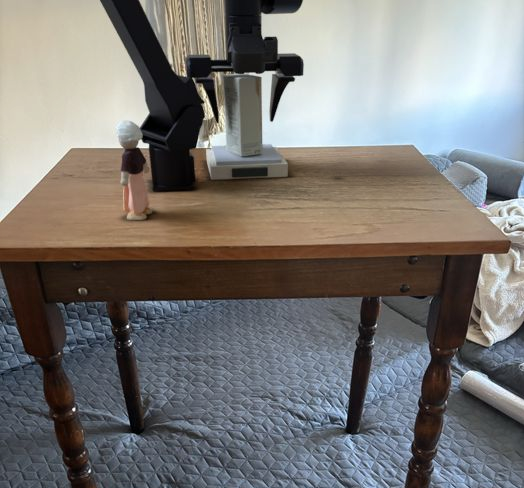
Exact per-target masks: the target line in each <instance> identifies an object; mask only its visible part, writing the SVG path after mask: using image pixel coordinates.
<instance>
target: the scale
mask: <svg viewBox="0 0 524 488" xmlns="http://www.w3.org/2000/svg"><path fill="white" fill-rule="evenodd" d="M262 149H263V153H262V154H258V155H250V156H242V157H241V156H239V155H236V154H234V153H232V152H230V151H228V150H226V145H212V146H211V148H206V149H205V155H206V156H205V157H206V164H207V168H208V172H209V175H210V179H211V181H215V180H241V179H244V180H245V179H263V178H265V179H267V178H268V179H269V178H286V177H287V178H288V175H289V174H288V173H289V163H288V162H287V160H286V159H285V158H284V156H283V155H282V153H281V152H280V150H279V149H278V147H277V146H273V144H271V143H264V144H263V143H262Z"/></svg>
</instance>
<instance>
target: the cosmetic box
mask: <svg viewBox="0 0 524 488" xmlns="http://www.w3.org/2000/svg"><path fill="white" fill-rule="evenodd" d="M262 80H263V79H262V76H259V75H254V74H250V73H244V74H236V73H227V74H223V75H222V83H223V84H222V85H223V104H224V105H223V107H224V124H225V146H226V150H228V151H230V152H232V153H234V154H236V155H239V156H241V157H242V156H250V155H258V154H262V153H263V149H262V144H263V105H262V104H263V92H262V90H263V89H262V85H263V83H262Z"/></svg>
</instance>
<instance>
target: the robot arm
mask: <svg viewBox="0 0 524 488" xmlns="http://www.w3.org/2000/svg"><path fill="white" fill-rule="evenodd" d="M99 2H100V3H101V5H102V8H103V9H104V11H105V13H106V15H107V17H108V19H109V20H110V22H111V24H112V26H113V28H114V30H115V31H116V34H117V36H118V37H119V39H120V42H121V43H122V45H123V47H124V48H125V51H126V52H127V54H128V57H129V58H130V60H131V63H133V65H134V68H135V69H136V71H137V74H138V75H139V77H140V79H141V81H142V83H143V88H144V100H145V104H146V107H147V110H148V112H149V113H148V114H147V116H146V117H145V119H144V120H143V122H142V124H141V125H140V126H139V128H140V130H141V132H142V134H143V137H142V139H141V140H140V141H141V142H142V143H143V144H147V145H148V152H149V165H150V174H151V175H150V176H151V191H153V192H158V191H159V192H160V191H162V192H163V191H180V190H181V191H182V190H183V191H185V190H193V189H194V184H195V182H196V169H195V155H194V153H193V152H191V150H196V148H197V145H198V141H199V137H200V132H201V128H202V126H203V124H204V119H205V118H206V115H205V114H206V113H205V110H204V106H203V105H205V102H206V101H205V100H204V99H203V98H202V97H201V95H200V94H199V92H198V89H197V86H196V84H198V85H199V84H200V85H202V87H203V90H204V92H205V94H206V96H207V99H208V101H209V104H210V107H211V110H212V114H213V116H214V120H215V123H216V124H219V123H220V115H219V114H220V113H219V107H218V106H219V105H218V101H217V95H216V87H215V80H214V77H213V73H234V74H256V75H260V74H264V73H265V72H274V73H272V74H271V86H270V99H269V113H268V114H269V122H270V123H273V122H274V119H275V117H276V114H277V111H278V108H279V104H280V102H281V99H282V96H283V94H284V91H286V90H285V89H286V88H287V86H288V85H289V84H290V83H294V82H295V81H296V77H302V76H304V66H305V64H304V59H303V58H302V56H300V55H299V54H296V53H289V52H288V53H279V39H278V37H277V36H264V38H263V34H262V31H263V29H262V24H263V23H262V14H263V15H280V14H281V15H286V14H295V13H297V12H298V11H299V10H300V9H301V7H302V5H303V2H304V0H224V37H225V40H224V41H225V59H224V58H223V59H222V58H221V59H212V57H211V56H210V54H187V56H186V57H185V58H184V65H185V66H184V67H185V75H186V76H185V75H179V74H177V73H176V72H175V71H174V69H173V68H172V65H171V63H170V62H169V59H168V57H167V55H166V53H165V51H164V49H163V47H162V45H161V43H160V41H159V39H158V37H157V34H156V32H155V30H154V28H153V26H152V24H151V23H150V20H149V18H148V15H147V14H146V12H145V10H144V7H143V5H142V3H141V2H140V0H99Z"/></svg>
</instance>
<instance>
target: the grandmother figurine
mask: <svg viewBox="0 0 524 488" xmlns="http://www.w3.org/2000/svg"><path fill="white" fill-rule="evenodd" d="M115 134H116V135H117V137H118V143H119V145H120V146H121V148H123V149H124V152H123V153H122V155H121V167H120V177H121V179H120V185H121V186H123V191H122V192H123V193H122V199H123V200H122V204H123V211H124V212H128V213H127V215H126V220H130V221H143V220H146V219H147V218H148V216H147V215H150V214H152V213H153V211H152V209H151V208H150V200H149V194H148V188H147V185H146V183H145V180H144V179H145V178H144V174H148V173H150V172H151V168H150V167H149V165H148V162H147V159H146V157H145V155H144V154H143V152H142V150H141V149H140V147H138V145H139V141H142V140H141V139H142V137H143V134H142V132H141V130H140V126H139V125H138V124H136V123H135V122H134V121H132V120H129V119H127V120H122V121H120V122H119V123H118V124H117V125H116V127H115Z"/></svg>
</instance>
